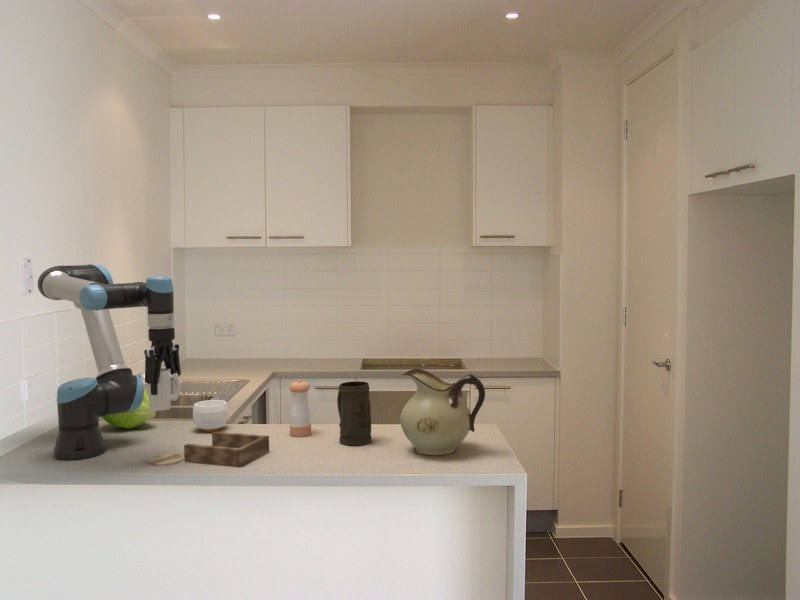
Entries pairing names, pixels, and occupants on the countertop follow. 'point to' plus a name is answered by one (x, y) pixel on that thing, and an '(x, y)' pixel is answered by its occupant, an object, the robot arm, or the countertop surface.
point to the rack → (228, 449)
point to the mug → (165, 390)
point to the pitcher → (438, 413)
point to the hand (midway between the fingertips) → (164, 402)
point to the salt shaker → (300, 409)
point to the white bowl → (210, 414)
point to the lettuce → (132, 415)
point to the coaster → (166, 459)
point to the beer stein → (354, 413)
